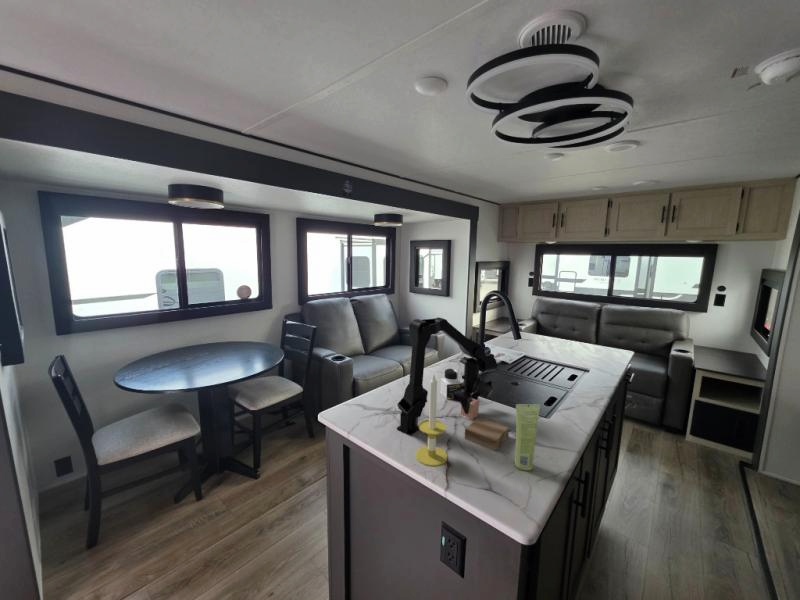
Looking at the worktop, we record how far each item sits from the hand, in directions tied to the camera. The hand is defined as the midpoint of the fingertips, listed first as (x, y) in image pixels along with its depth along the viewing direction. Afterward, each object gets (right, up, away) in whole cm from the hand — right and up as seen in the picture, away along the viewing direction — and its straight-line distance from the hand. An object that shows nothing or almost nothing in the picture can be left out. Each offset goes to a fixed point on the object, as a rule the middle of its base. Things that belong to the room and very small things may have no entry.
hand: (469, 411), depth 126 cm
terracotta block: (0, -2, 0) cm, 2 cm away
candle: (-18, -5, -26) cm, 32 cm away
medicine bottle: (-5, +1, +18) cm, 19 cm away
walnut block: (+2, -4, -16) cm, 16 cm away
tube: (+10, -6, -30) cm, 32 cm away
